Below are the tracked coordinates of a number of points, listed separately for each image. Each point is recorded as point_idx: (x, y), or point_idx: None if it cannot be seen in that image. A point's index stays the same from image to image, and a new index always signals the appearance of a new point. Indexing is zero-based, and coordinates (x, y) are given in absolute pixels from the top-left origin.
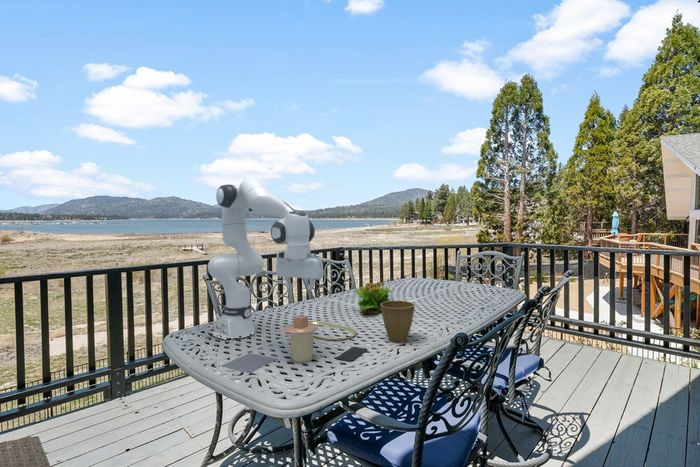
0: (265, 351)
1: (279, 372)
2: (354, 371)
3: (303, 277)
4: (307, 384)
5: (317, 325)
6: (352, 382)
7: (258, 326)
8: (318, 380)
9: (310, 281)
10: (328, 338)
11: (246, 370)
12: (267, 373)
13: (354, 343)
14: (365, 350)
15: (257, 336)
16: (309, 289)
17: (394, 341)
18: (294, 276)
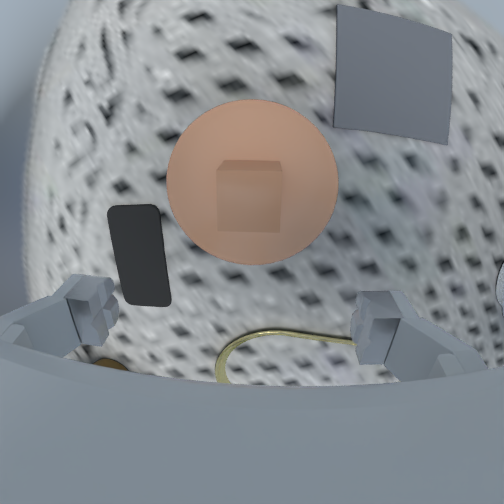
0: (414, 181)
1: (260, 44)
2: (71, 155)
3: (45, 359)
4: (132, 25)
5: (190, 238)
6: (47, 99)
7: (499, 338)
8: (119, 58)
9: (11, 324)
10: (269, 332)
11: (362, 17)
12: (291, 26)
13: (186, 331)
14: (123, 290)
15: (484, 281)
16: (78, 276)
17: (108, 359)
18: (264, 397)
